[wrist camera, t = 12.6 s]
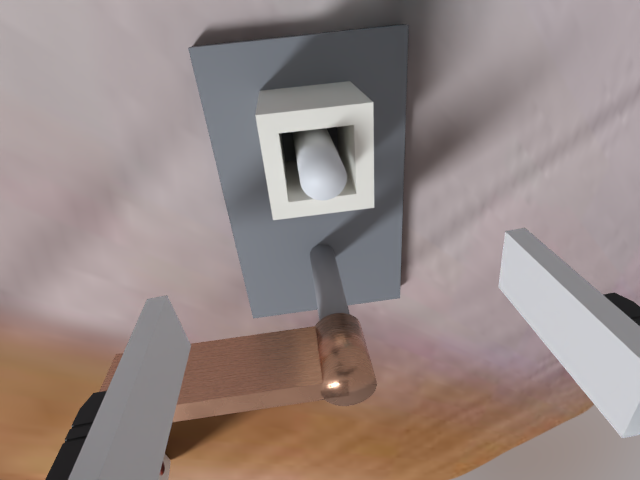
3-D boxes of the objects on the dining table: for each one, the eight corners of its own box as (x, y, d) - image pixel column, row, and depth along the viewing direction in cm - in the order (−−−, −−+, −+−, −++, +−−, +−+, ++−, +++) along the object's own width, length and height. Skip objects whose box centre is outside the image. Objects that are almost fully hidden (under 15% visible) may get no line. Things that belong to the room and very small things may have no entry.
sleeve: (259, 90, 29) (255, 115, 22) (349, 80, 29) (373, 102, 22) (273, 176, 33) (273, 220, 26) (353, 167, 33) (374, 207, 26)
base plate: (192, 46, 28) (148, 65, 18) (402, 24, 29) (470, 31, 19) (253, 308, 42) (248, 401, 32) (396, 289, 43) (433, 374, 33)
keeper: (128, 378, 29) (103, 442, 24) (111, 344, 27) (80, 407, 22) (361, 344, 29) (376, 401, 25) (360, 309, 27) (376, 364, 23)
